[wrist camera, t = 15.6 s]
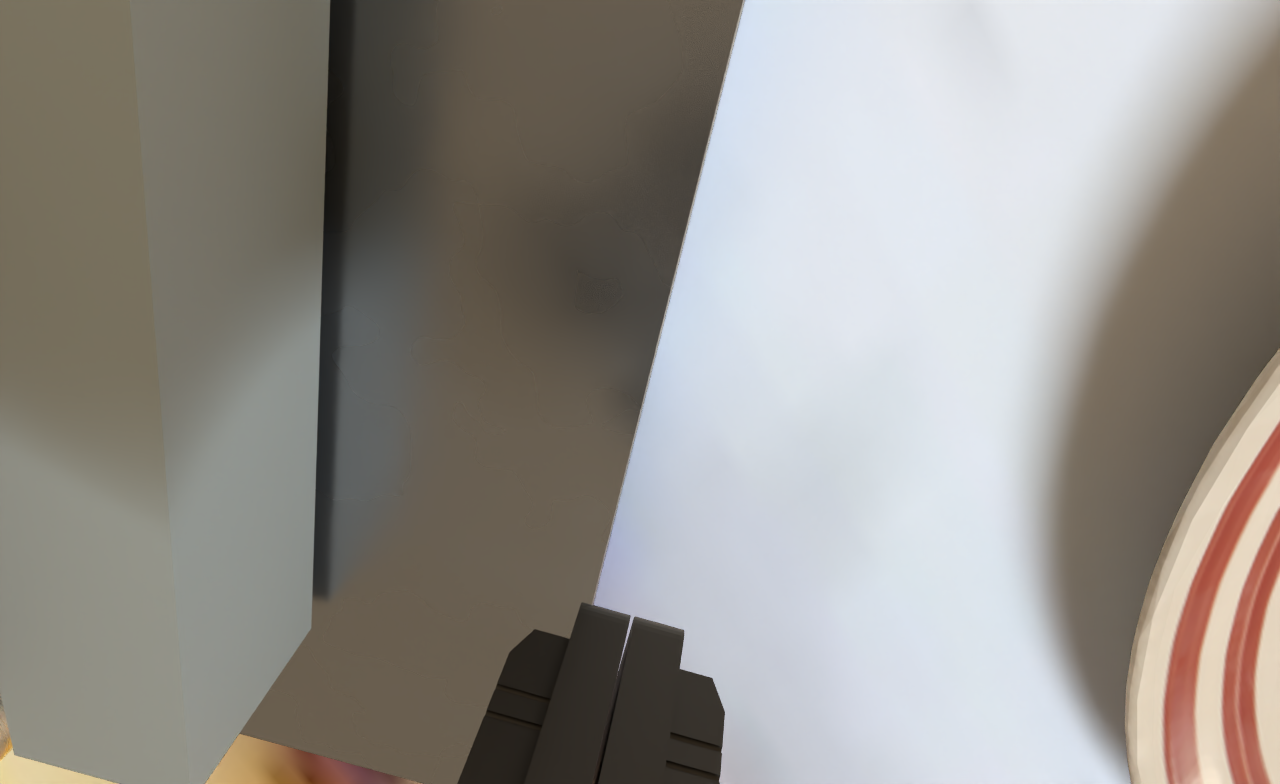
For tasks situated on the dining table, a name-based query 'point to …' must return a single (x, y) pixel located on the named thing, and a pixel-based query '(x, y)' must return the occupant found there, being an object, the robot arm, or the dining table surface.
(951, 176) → the dining table surface
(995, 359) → the dining table surface
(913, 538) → the dining table surface
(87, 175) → the bar
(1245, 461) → the dinner plate
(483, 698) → the housing base
